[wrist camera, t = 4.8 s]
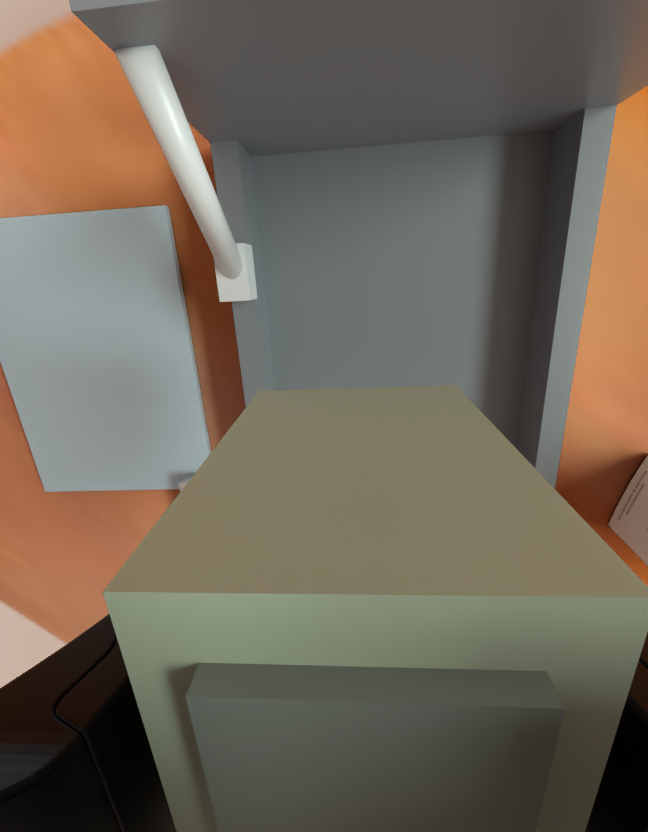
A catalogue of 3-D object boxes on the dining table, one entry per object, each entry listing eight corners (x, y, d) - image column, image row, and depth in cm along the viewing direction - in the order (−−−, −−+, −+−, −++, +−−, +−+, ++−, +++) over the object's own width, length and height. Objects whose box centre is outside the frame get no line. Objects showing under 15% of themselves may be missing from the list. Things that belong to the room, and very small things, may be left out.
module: (440, 597, 11) (555, 1003, 5) (281, 595, 11) (201, 973, 5) (455, 385, 9) (690, 632, 3) (258, 390, 9) (78, 623, 3)
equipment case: (525, 510, 21) (663, 696, 12) (271, 514, 22) (213, 686, 13) (578, 112, 15) (948, -150, 6) (225, 145, 16) (57, -32, 7)
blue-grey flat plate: (216, 484, 22) (214, 488, 22) (50, 488, 23) (45, 491, 22) (168, 206, 17) (164, 205, 17) (-40, 223, 18) (-48, 222, 18)
